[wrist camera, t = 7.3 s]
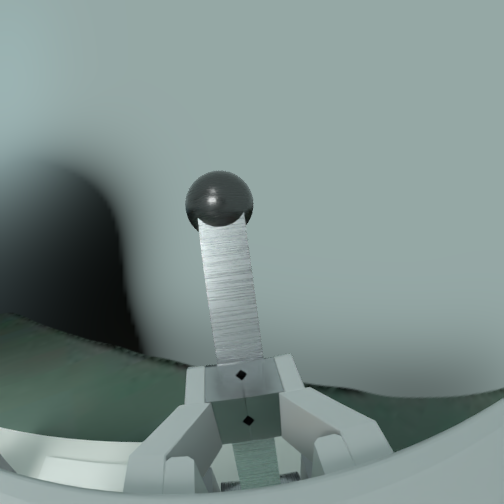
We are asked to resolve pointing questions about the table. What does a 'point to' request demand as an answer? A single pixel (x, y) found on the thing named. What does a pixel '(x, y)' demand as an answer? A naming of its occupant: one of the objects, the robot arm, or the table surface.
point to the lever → (233, 303)
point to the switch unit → (114, 461)
